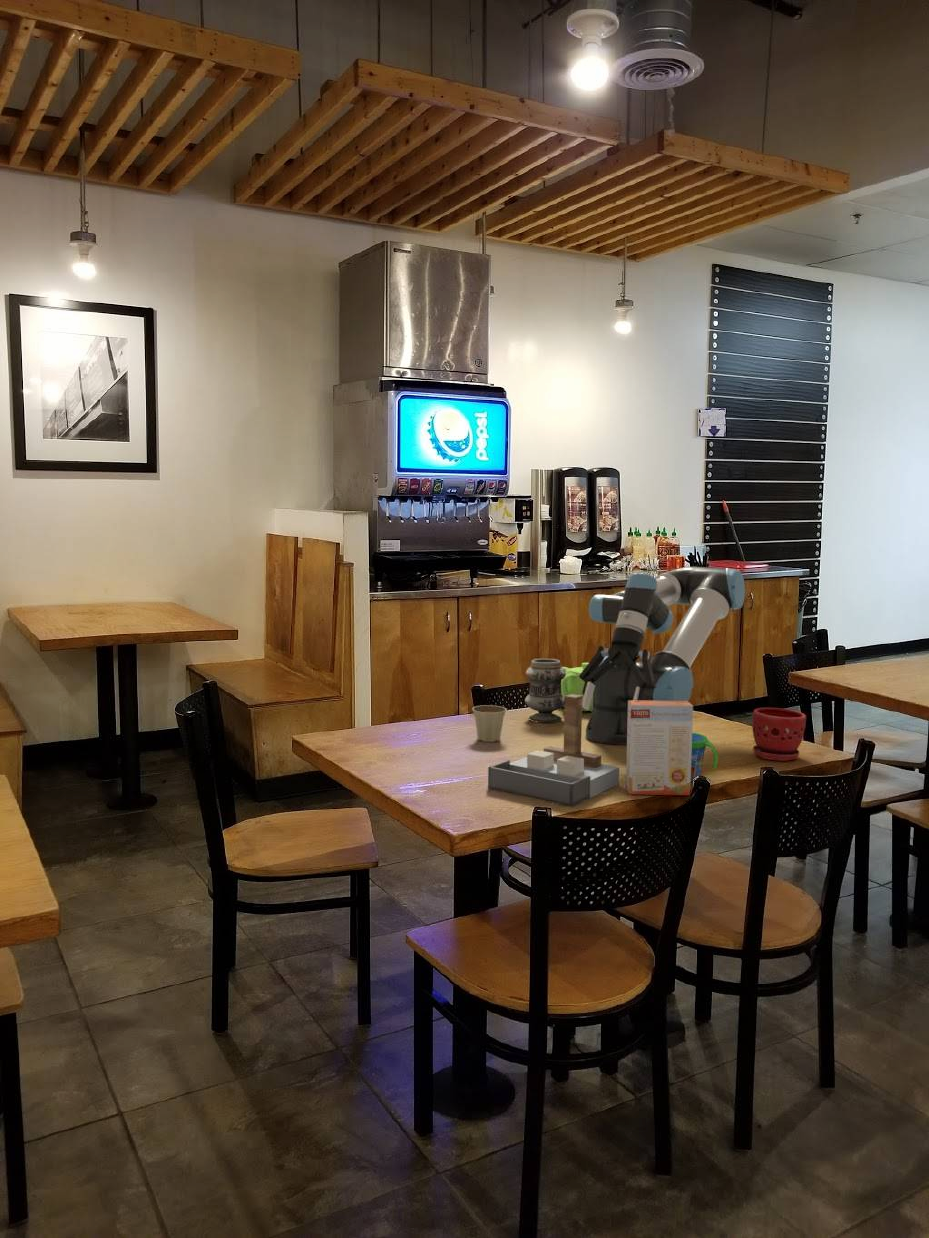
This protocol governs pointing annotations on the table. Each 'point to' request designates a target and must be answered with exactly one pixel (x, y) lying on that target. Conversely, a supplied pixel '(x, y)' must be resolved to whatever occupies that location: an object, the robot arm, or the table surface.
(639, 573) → the robot arm
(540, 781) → the box
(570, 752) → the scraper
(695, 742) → the snack cup
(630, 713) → the cracker box
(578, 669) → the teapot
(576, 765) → the tile
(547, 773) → the board
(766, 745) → the plant pot
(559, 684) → the apothecary jar
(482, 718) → the flower pot
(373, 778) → the table surface
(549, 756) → the tile
